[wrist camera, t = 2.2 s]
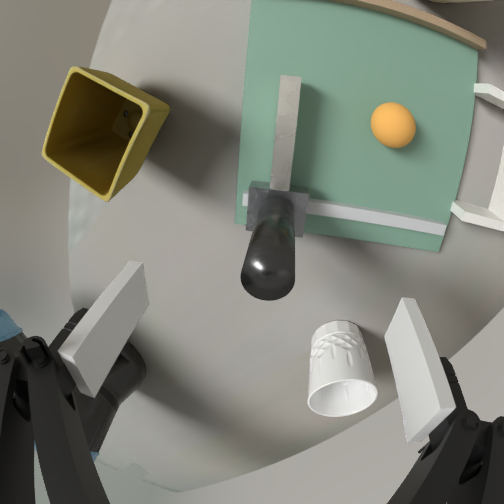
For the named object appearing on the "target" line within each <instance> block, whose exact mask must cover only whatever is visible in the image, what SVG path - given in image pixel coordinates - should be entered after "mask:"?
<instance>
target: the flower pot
mask: <svg viewBox="0 0 504 504" xmlns="http://www.w3.org/2000/svg"><path fill="white" fill-rule="evenodd" d="M126 111H127V112H128V116H127V117H126V116H125V115H124V113H125V112H126ZM169 112H170V106H169V105H168V104H166V103H165V102H163V101H161V100H159V99H157V98H155V97H153V96H151V95H150V94H148V93H146V92H144V91H142V90H140V89H138V88H137V87H135V86H133V85H131V84H129V83H127V82H125V81H124V80H122V79H120V78H118V77H116V76H114V75H112V74H110V73H107V72H102V71H98V70H93V69H88V68H83V67H79V66H73V67H72V68H71V69H70V71H69V73H68V75H67V77H66V80H65V83H64V85H63V88H62V90H61V93H60V96H59V99H58V102H57V104H56V107H55V110H54V113H53V116H52V119H51V122H50V125H49V129H48V132H47V135H46V139H45V142H44V146H43V150H42V156H43V157H44V158H45V159H46V160H47V161H48V162H50V163H51V164H52V165H53V166H55V167H56V168H58V169H59V170H60V171H62V172H63V173H65V174H66V175H67V176H69V177H70V178H72V179H73V180H74V181H76V182H77V183H79V184H80V185H81V186H83V187H84V188H86V189H87V190H88V191H90V192H91V193H92V194H94V195H95V196H97V197H98V198H100V199H102V200H104V201H106V202H109V201H110V200H111V199H112V198H113V197H114V196H115V195H116V194H117V193H118V192H119V191H120V190H121V189H122V188H123V187H124V186H125V185H127V184H128V183H129V182H130V181H131V180H132V179H133V178H134V177H135V176H136V174H137V173H138V171H139V170H140V168H141V166H142V164H143V162H144V160H145V158H146V156H147V154H148V152H149V150H150V148H151V146H152V144H153V142H154V140H155V138H156V136H157V134H158V132H159V130H160V128H161V127H162V125H163V123H164V121H165V119H166V118H167V116H168V114H169ZM131 131H132V132H133V136H130V135H129V133H130V132H131Z"/></svg>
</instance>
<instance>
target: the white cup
mask: <svg viewBox="0 0 504 504" xmlns="http://www.w3.org/2000/svg"><path fill="white" fill-rule="evenodd" d="M377 395H378V390H377V386H376V382H375V378H374V374H373V370H372V366H371V362H370V359H369V356H368V353H367V349H366V346H365V344H364V341H363V337H362V333H361V331H360V330H359V328H358V327H357V325H355V324H353V323H351V322H349V321H340V320H336V321H332V322H329V323H325V324H324V325H322V326H321V327H319V328H318V329H317V330H316V331H315V333H314V335H313V336H312V345H311V356H310V368H309V386H308V406H309V408H310V409H311V410H312V411H314V412H315V413H317V414H320V415H324V416H330V417H340V416H347V415H352V414H355V413H358V412H360V411H362V410H364V409H366V408H368V407H369V406H370V405H371V404H372V403H373V402H374V401H375V400H376V398H377Z"/></svg>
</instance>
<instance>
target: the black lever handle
mask: <svg viewBox="0 0 504 504" xmlns="http://www.w3.org/2000/svg"><path fill="white" fill-rule="evenodd" d="M301 78H302V77H296V76H288V75H281V76H280V87H279V98H278V108H277V119H276V129H275V140H274V150H273V160H272V170H271V180H270V182H261V181H252V182H251V184H250V186H249V194H248V207H247V220H246V230H247V231H253V232H252V236H251V239H250V243H249V247H248V250H247V254H246V257H245V261H244V264H243V268H242V271H241V282H242V285H243V287H244V288H245V290H246V291H247V292H248V293H249V294H250V295H252V296H254V297H255V298H258V299H261V300H268V301H269V300H277V299H280V298H282V297H284V296H286V295H287V294H288V293H289V292H290V291H291V290H292V288H293V286H294V283H295V237H303V231H304V225H305V219H306V212H307V206H308V200H309V190H308V187H302V186H294V185H290V178H291V170H292V162H293V153H294V144H295V136H296V127H297V117H298V108H299V98H300V88H301Z"/></svg>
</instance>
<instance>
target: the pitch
mask: <svg viewBox="0 0 504 504" xmlns="http://www.w3.org/2000/svg"><path fill="white" fill-rule="evenodd" d="M482 49H486V40H484V39H483V38H481V37H479V36H477V35H475V34H473V33H471V32H469V31H467V30H465V29H463V28H461V27H459V26H457V25H455V24H453V23H450V22H448V21H446V20H444V19H441V18H439V17H437V16H434V15H432V14H429V13H427V12H424V11H421V10H419V9H416V8H413V7H410V6H407V5H404V4H401V3H398V2H395V1H392V0H252V3H251V13H250V24H249V35H248V46H247V58H246V70H245V82H244V95H243V108H242V121H241V135H240V149H239V164H238V180H237V196H236V213H235V224H241V225H246V220H247V207H248V194H249V186H250V184H251V182H252V181H261V182H270V180H271V170H272V160H273V150H274V140H275V129H276V119H277V108H278V98H279V87H280V76H281V75H288V76H296V77H302V78H301V88H300V98H299V108H298V117H297V127H296V136H295V144H294V153H293V162H292V170H291V178H290V185H294V186H302V187H308V190H309V200H308V206H307V212H306V219H305V225H304V231H303V232H305V233H313V234H320V235H327V236H335V237H342V238H349V239H356V240H363V241H370V242H376V243H383V244H390V245H396V246H403V247H409V248H415V249H422V250H428V251H434V252H439V249H440V246H441V243H442V240H443V237H444V234H445V231H446V228H447V225H448V222H449V219H450V216H451V212H452V211H450V209H451V206H452V203H453V202H455V199H456V195H457V191H458V187H459V183H460V179H461V175H462V171H463V167H464V162H465V157H466V153H467V147H468V142H469V137H470V131H471V124H472V117H473V110H474V102H475V93H474V83H476V81H477V64H478V50H482ZM388 102H394V103H398V104H401V105H403V106H404V107H406V108H407V109H408V110H409V111H410V112H411V114H412V116H413V117H414V120H415V124H416V131H415V135H414V137H413V139H412V140H411V142H410V143H408V144H407V145H405V146H403V147H400V148H391V147H387V146H385V145H383V144H382V143H380V142H379V141H378V140H377V139H376V137H375V136H374V134H373V132H372V129H371V116H372V114H373V112H374V110H375V109H376V108H377V107H378V106H380V105H381V104H384V103H388Z"/></svg>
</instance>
